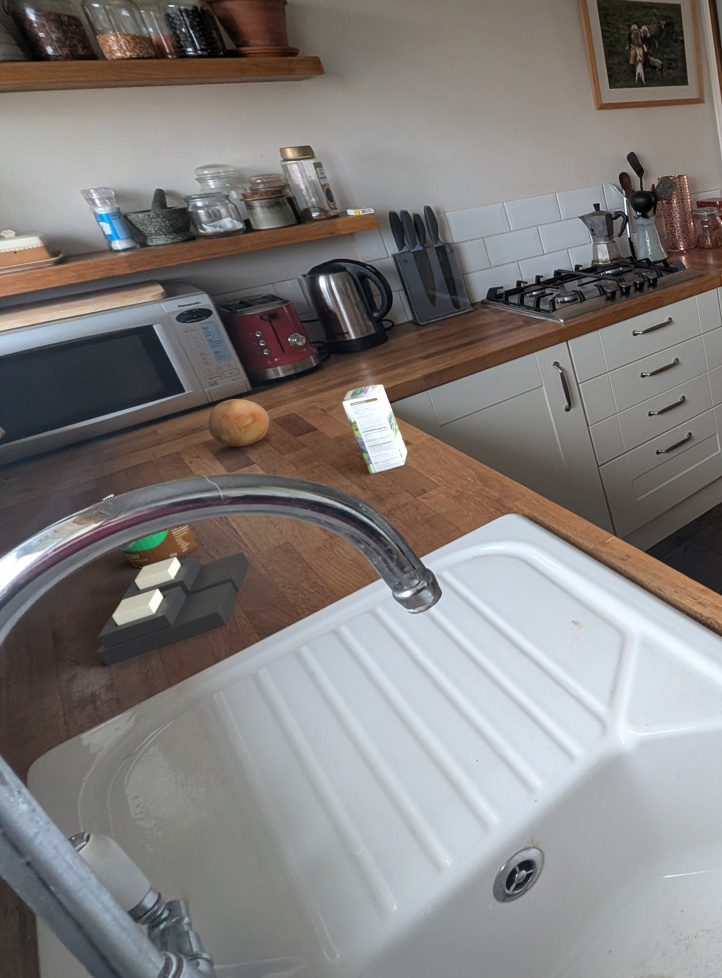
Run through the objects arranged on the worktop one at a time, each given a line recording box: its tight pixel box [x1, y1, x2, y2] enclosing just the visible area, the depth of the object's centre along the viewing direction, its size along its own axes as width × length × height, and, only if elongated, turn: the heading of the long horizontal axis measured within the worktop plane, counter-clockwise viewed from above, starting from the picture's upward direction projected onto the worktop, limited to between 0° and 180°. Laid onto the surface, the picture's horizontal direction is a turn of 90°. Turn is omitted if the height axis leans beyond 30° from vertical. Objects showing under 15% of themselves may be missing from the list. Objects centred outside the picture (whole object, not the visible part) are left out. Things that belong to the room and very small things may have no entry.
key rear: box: [134, 557, 182, 590], centre depth 91 cm, size 4×4×2 cm
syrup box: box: [341, 384, 408, 475], centre depth 121 cm, size 6×6×14 cm
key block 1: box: [121, 552, 250, 601], centre depth 92 cm, size 12×7×4 cm, turn 118°
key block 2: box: [96, 582, 239, 667], centre depth 86 cm, size 12×7×4 cm, turn 118°
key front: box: [112, 589, 164, 626], centre depth 84 cm, size 4×4×2 cm
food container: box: [101, 493, 199, 567], centre depth 100 cm, size 12×6×10 cm, turn 80°
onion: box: [208, 398, 270, 448], centre depth 139 cm, size 10×10×10 cm
